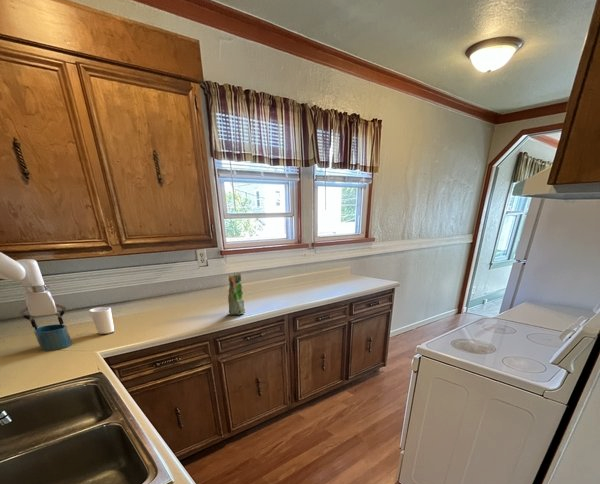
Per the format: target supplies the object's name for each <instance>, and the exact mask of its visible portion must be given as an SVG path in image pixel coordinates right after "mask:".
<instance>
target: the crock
mask: <svg viewBox="0 0 600 484" xmlns="http://www.w3.org/2000/svg"><path fill="white" fill-rule="evenodd" d="M33 333H34V336H35V338H36V341H37V343H38V345H39V348H40V351H43V350H44V351H43V352H55V351H59V350H64V349H67V348H69V347H71V346H72V344H73V343H72V339H71V336H70V332H69V330H68V328H67V325H66V324H62V326H60V323H56V324H48V325H43V326H39V327H38V328H37V329H36V330H35V329H34V330H33Z"/></svg>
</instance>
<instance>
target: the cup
mask: <svg viewBox="0 0 600 484" xmlns="http://www.w3.org/2000/svg"><path fill="white" fill-rule="evenodd" d="M88 311H89V314H90V317H91V320H92V321H93V324H94V326H95V330H96V331H97V333H98V334H99V335H100V336H102V335H110V334H113V333H115V327H114V321H113V314H112V308H111V307H109V306H100V307H94V308H93V307H92V308H91V309H89V310H88Z"/></svg>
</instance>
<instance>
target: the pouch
mask: <svg viewBox="0 0 600 484" xmlns="http://www.w3.org/2000/svg"><path fill="white" fill-rule="evenodd" d="M228 286H229V287H228V290H227V291H228V295H227V299H228V314H229V315H230V314H231V315H238V316H241V315H240V314H243V315H245V314H246V309H245V301H244V299H243V295H244V293H243V285H242V274H241V273H240V272H237V273H234V274H232V275H231V274H230V275H228ZM244 313H245V314H244Z"/></svg>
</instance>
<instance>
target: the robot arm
mask: <svg viewBox="0 0 600 484" xmlns="http://www.w3.org/2000/svg"><path fill="white" fill-rule="evenodd" d="M0 279H1V280H7V281H12V282H13V281H14V282H19V281H21V283H22V286H23V288H24V291H25V292H24V299H25V303H26V306H25V307H24V308H22V309H21V310H19V311H18V313H19V315H21V316H22V317H23V318H24V319H26V320H28V321H29V322H30V324H31V326H32V328H34V330H36V329H37V328H39V327H38V324H37V322H36V319H35V317H43V316H50V315H55V316H56V317H57V320H58V324H60V326H62V324H63V325H65V323H64V320H63V316H64V315H65V313H66V309H67V307H66V306H65V305H61V304H58V303H56V302H55V300H54V298H53V295H52V293H51V292H50V290H49V289H51V287H50V285H47V284H45V281H44V278H43V276H42V271H41V269H40V266H39V264H38V261H37V260H35V259H33V258H25V259H24V258H23V259H17V260H15V259H13V258H11V257H10V256H8V255H7V254H5V253H3V252H1V251H0ZM58 309H61V311H60V312H59V311H58ZM26 312H28V313H29V315H30V316H29V315H28V314H26Z"/></svg>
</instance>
